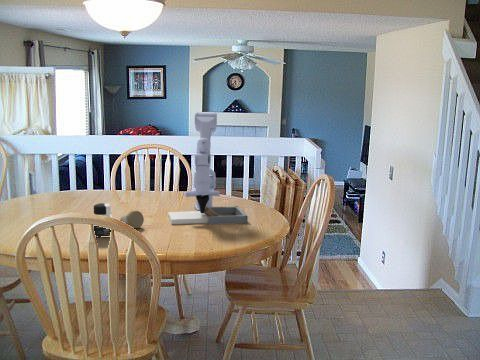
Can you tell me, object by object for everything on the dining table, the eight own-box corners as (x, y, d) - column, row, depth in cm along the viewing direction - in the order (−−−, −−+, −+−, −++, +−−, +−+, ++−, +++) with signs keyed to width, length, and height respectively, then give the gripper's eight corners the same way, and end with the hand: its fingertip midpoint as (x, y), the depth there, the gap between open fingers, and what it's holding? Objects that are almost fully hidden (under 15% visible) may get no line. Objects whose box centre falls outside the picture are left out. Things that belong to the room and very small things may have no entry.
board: (168, 216, 220) (168, 212, 220) (202, 215, 224) (202, 210, 224) (171, 224, 209) (171, 219, 209) (207, 222, 213) (207, 218, 212)
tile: (202, 208, 220) (205, 205, 220) (213, 216, 222) (216, 213, 222) (205, 212, 215) (208, 208, 215) (216, 220, 217) (219, 216, 217)
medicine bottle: (92, 238, 188) (91, 206, 185) (93, 233, 194) (92, 202, 192) (112, 237, 189) (112, 206, 187) (112, 232, 196) (111, 201, 194)
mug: (126, 223, 210) (138, 203, 207) (138, 238, 204) (149, 218, 202) (112, 222, 204) (123, 202, 201) (123, 237, 199) (134, 217, 196)
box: (201, 213, 226) (201, 207, 226) (237, 212, 230) (237, 206, 230) (208, 224, 210) (208, 217, 210) (247, 222, 214) (247, 215, 214)
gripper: (186, 183, 209) (186, 215, 212) (221, 182, 213) (220, 214, 215) (184, 180, 216) (184, 211, 219) (218, 179, 220) (217, 210, 222)
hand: (202, 212), depth 217 cm, fingers closed
